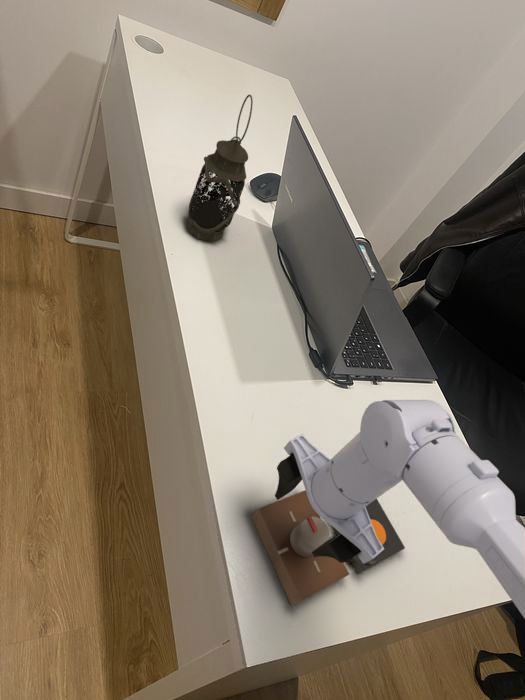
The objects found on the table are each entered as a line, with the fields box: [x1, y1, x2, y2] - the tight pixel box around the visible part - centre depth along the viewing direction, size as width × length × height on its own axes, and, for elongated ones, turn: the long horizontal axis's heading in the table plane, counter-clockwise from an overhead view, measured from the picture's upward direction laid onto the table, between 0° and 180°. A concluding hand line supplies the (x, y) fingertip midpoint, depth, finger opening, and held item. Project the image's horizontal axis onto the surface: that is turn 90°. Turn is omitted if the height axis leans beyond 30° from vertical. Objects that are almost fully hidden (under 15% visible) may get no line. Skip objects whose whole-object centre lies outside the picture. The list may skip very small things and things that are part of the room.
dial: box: [290, 516, 331, 557], centre depth 63 cm, size 4×4×4 cm
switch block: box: [331, 498, 406, 575], centre depth 70 cm, size 11×9×4 cm
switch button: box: [370, 519, 386, 545], centre depth 67 cm, size 4×4×2 cm
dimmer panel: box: [251, 489, 350, 607], centre depth 65 cm, size 12×8×3 cm
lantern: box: [187, 94, 254, 243], centre depth 90 cm, size 10×9×28 cm
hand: (300, 521), depth 59 cm, fingers open, 7 cm apart
